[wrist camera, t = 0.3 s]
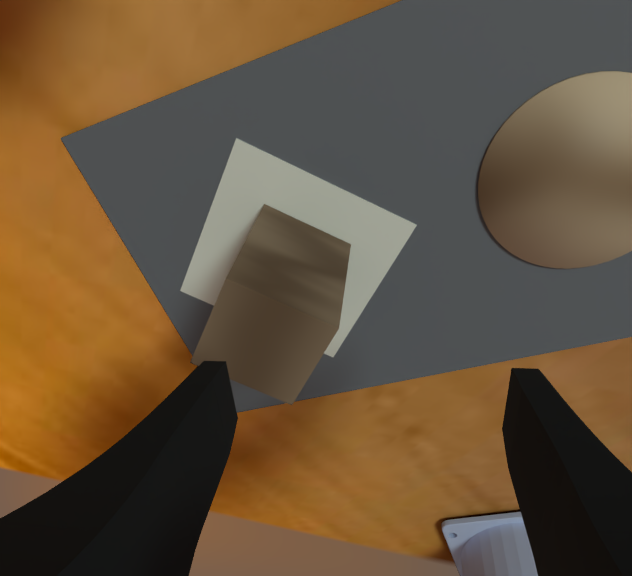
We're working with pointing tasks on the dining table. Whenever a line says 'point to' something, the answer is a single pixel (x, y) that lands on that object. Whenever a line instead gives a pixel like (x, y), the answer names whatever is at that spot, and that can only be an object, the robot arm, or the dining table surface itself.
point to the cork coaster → (563, 174)
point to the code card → (305, 205)
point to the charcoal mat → (380, 177)
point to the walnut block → (277, 305)
